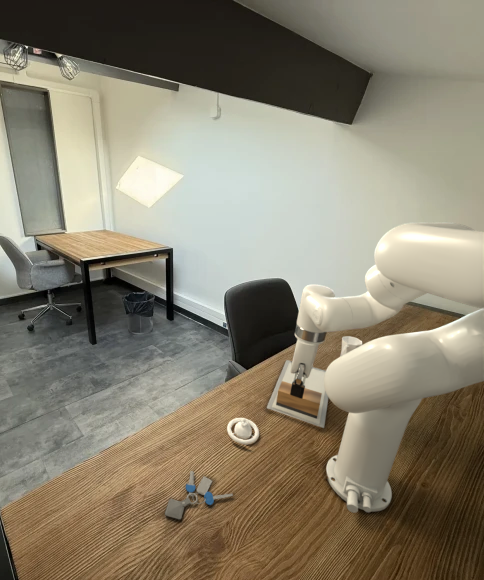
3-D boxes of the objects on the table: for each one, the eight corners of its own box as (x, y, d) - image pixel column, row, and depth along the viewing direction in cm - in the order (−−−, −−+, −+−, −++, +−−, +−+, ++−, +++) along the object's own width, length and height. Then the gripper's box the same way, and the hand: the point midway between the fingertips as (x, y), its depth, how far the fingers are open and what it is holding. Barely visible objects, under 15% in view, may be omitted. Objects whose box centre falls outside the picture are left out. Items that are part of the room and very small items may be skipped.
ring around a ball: (247, 420, 82) (220, 428, 79) (249, 403, 79) (222, 411, 76) (264, 443, 75) (236, 453, 72) (267, 426, 73) (239, 435, 70)
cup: (361, 360, 112) (366, 341, 109) (348, 370, 106) (353, 350, 103) (342, 352, 117) (347, 333, 114) (329, 361, 111) (333, 341, 108)
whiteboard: (323, 431, 79) (324, 428, 79) (265, 410, 85) (266, 407, 85) (331, 374, 103) (332, 372, 102) (286, 362, 109) (286, 359, 109)
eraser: (316, 419, 82) (319, 403, 80) (275, 404, 86) (278, 390, 85) (318, 407, 86) (321, 393, 84) (279, 394, 91) (282, 380, 89)
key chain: (168, 525, 56) (168, 522, 56) (155, 486, 63) (155, 483, 63) (233, 497, 61) (233, 494, 61) (215, 464, 68) (215, 461, 68)
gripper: (301, 315, 87) (291, 365, 93) (289, 343, 73) (278, 399, 79) (329, 322, 84) (317, 373, 90) (322, 352, 70) (308, 410, 76)
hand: (299, 385), depth 85 cm, fingers open, 9 cm apart
